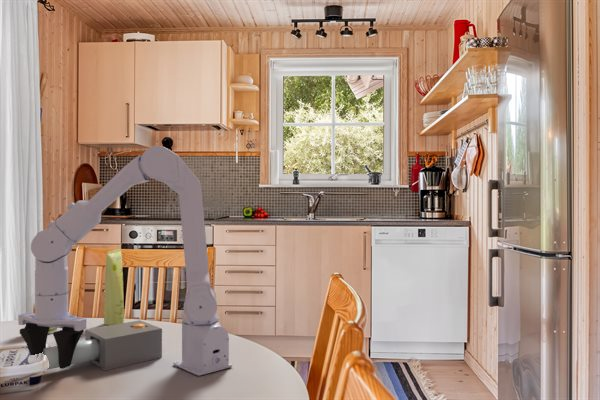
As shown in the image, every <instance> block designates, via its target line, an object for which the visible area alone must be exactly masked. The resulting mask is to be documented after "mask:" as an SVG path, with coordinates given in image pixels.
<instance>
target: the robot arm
mask: <svg viewBox="0 0 600 400" xmlns="http://www.w3.org/2000/svg"><path fill="white" fill-rule="evenodd" d="M149 178H150V179H152V180H155V181H158V182H161V183H164V184H165V185H166V186H167V187H168V188H169V189H171V190H173V191H174V192H175V193H176V194H177V195H178V200H179V210H180V220H181V221H180V222H181V232H182V233H181V234H182V241H183V242H182V243H183V245H182V246H183V255H184V263H185V264H184V265H185V275H186V276H185V277H186V293H185V296H184V302H183V313H184V316H183V317H182V318H181V359H180V360H179V359H178V360H175V361H173V363H172V364H173V366H175V367H178V368H180V369H182V370H185V371H186V372H189V373H190V374H194V375H196V376H203V375H208V374H210V373H214V372H217V371H222V370H225V369H229V368H232V367H233V363H230V362H229V361H230V355H229V354H230V353H229V352H230V351H229V350H230V345H229V344H230V342H229V341H230V338H229V333H228V330H227V329H226V328H224V327H223V326H222V325H221V323H220V317H219V315H218V314H216V313H217V310H218V301H217V295H216V292H215V290H214V288H213V287H212V285H211V279H210V278H211V277H210V269H209V257H208V248H207V246H208V245H207V236H206V227H205V226H206V225H205V214H204V203H203V193H202V192H203V191H202V184H201V181H200V179H199V178H198V177H197V176H196V175H195V173H194V172H193V171H192V170H191V169H190V167H189V166H188V165H187V164H186V163H185V162H184V160H183V159H182V158H181V157H180V155H179V154H177V153H175V152H174V151H172V150H170V149H169V148H166V147H165V146H162V145H154V146H150V147H149V148H146V149H145V151H144V152H143V153H142V155H137V156H136V157H135V158H133V159H132V160H131V161H129V162H128V163H127V164H125V166H124V167H122V169H120V171H118V172H117V173H116V174H115V175H114V176H113V177H111V179H110V180H109V181H108V182H107V183H106V184H104V185H103V186H102V188H101V189H99V190H98V191H97V192H96V193H95V194H94V195H93V196H92V197H91V198H90V199H89V200H83V199H82V200H77V201H76V202H69V204H68V205H67V206H66V209H67V211H65V212H63V214H62V215H60V216H59V217H58V218H57V219H56V220H55V221H54V220H51V221H50V222H49V223H47V227H48V228H49V229H43V230H40V231H38V232H37V233H36V235H35V236H34V237H33V239H32V241H31V244H30V251H31V253H32V255H33V256H34V257H35V258H34V260H35V266H34V268H35V270H34V303H35V313H33V312H24V313H21V314H18V320H17V321H18V326H19V325H20V326H24V325H25V326H24V327H23V328H20V329H19V334H20V335H21V337H22V338H23V340H24V342H25V344H26V347H27V348H28V351H29V354H30V355H29V356H31V355H35V354H39V353H42V352H43V350H44V348H47V341H48V339H47V338H48V335H49V334H48V332H49V329H50V327H56V328H57V329H60V330H57V331H56V332H53V333H52V335H53V338H54V340H55V343H56V346H57V348H58V360H59V367H58V368H59V369H62V370H63V369H66V368H69V367H71V366H72V365H71V362H72V358H73V354H74V351H75V348H76V345H77V343H78V342H80V339H81V337H82V335H83V334H84V332H85V330H86V329H87V318H84V317H80V316H76V315H74V314H73V315H72V314H71V312H69V265H68V263H69V262H68V261H69V258H68V255H69V254H70V253H71V251H72V248H73V246H74V245H77V244H78V243H79V242H80V241H81V240H82V239H84V238H85V237H86V236H88V234H89V233H90V232H91V231H92V230H93V229H95V228H96V227H97V226H98V225H100V223H101V221H102V213H103V211H104V210H105V209H106V208H108V207H109V206H110V205H112V204H113V203H114V202H115V201H116V200H118V199H119V198H120V197H121V196H123V195H124V194H125V193H127V192H128V191H129V189H131V188H132V187H134V186H135V185H139V184H140V185H141V184H144V183H148V182H150V180H149Z"/></svg>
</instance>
